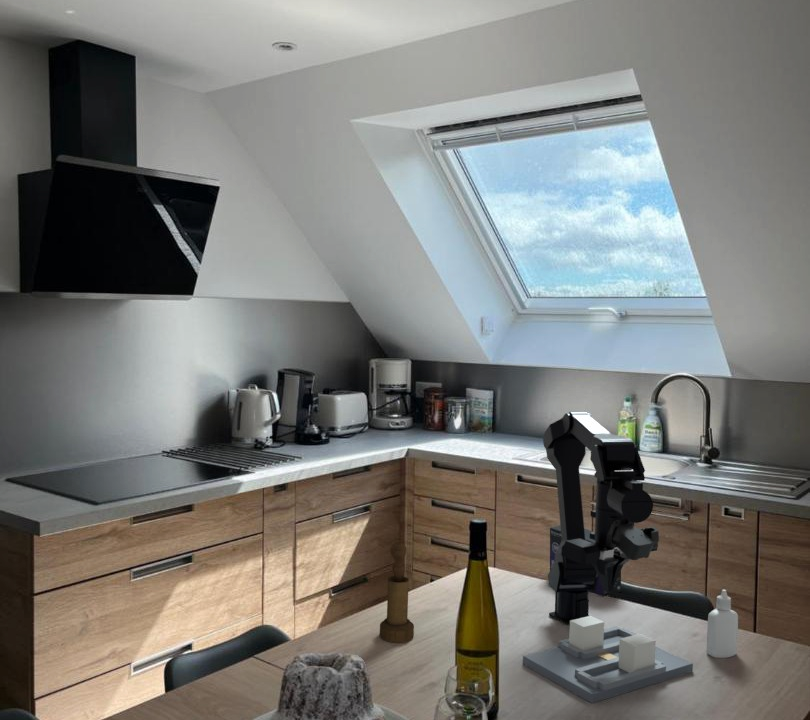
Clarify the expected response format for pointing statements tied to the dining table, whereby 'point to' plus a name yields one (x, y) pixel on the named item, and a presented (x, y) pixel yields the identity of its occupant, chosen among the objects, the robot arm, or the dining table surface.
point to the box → (556, 540)
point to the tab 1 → (586, 633)
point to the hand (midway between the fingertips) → (608, 591)
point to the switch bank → (602, 667)
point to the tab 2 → (636, 652)
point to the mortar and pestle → (397, 602)
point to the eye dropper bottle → (722, 629)
